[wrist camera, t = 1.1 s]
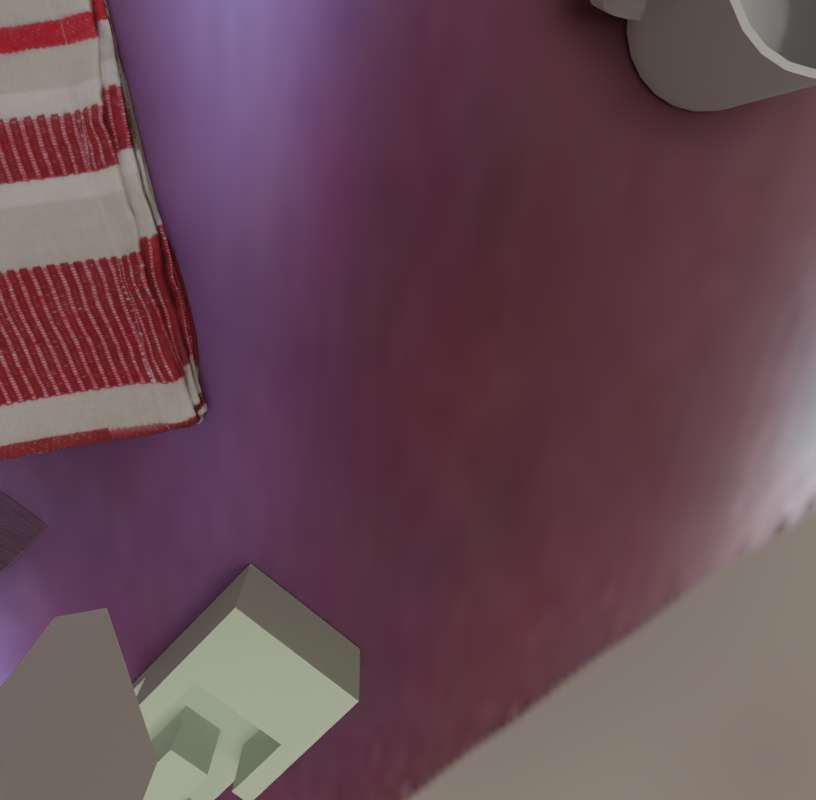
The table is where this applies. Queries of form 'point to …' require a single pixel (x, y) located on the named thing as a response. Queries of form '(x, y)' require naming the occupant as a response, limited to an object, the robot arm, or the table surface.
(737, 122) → the table surface
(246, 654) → the rail
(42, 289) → the dish towel
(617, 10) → the cup
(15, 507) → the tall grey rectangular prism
